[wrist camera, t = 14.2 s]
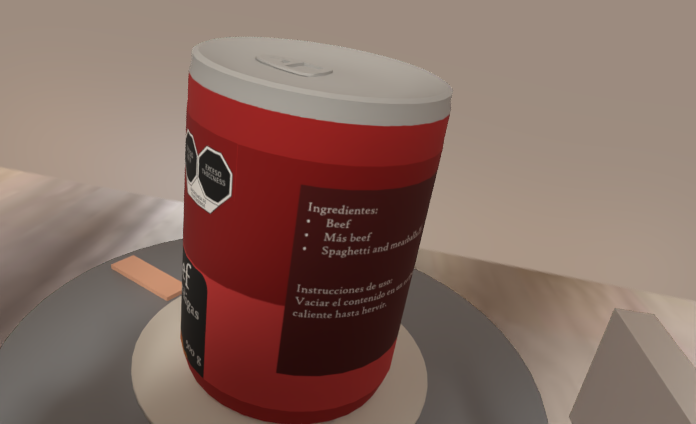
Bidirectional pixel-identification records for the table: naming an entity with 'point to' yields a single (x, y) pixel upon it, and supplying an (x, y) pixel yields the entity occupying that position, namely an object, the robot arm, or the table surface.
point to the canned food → (302, 220)
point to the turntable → (193, 401)
